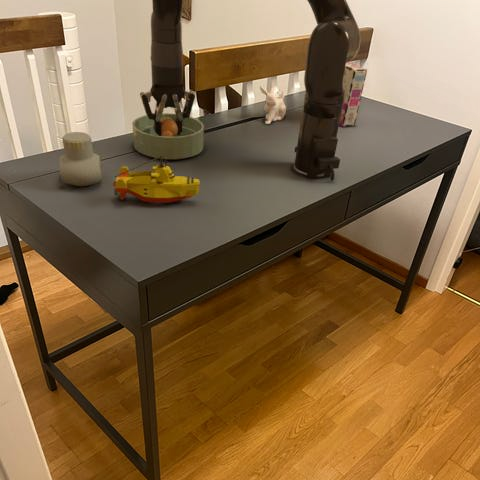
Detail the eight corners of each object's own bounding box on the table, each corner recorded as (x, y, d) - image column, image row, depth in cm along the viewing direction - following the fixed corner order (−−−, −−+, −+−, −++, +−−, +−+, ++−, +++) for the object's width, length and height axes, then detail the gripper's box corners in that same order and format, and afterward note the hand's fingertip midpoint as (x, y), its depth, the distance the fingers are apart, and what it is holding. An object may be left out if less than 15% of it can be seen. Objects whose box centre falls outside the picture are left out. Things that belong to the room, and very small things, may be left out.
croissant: (171, 128, 128) (171, 111, 125) (182, 143, 120) (182, 126, 118) (152, 129, 127) (151, 112, 124) (162, 144, 119) (161, 127, 116)
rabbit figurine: (267, 124, 145) (271, 91, 139) (249, 118, 149) (252, 85, 142) (290, 117, 152) (295, 85, 146) (272, 111, 156) (276, 79, 150)
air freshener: (101, 191, 103) (96, 146, 97) (62, 192, 102) (53, 146, 95) (102, 170, 111) (97, 127, 105) (65, 171, 110) (57, 127, 103)
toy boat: (117, 192, 104) (112, 147, 97) (199, 195, 105) (200, 151, 99) (113, 206, 99) (107, 159, 92) (199, 209, 100) (200, 163, 94)
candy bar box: (355, 126, 150) (368, 69, 140) (342, 127, 149) (354, 70, 138) (336, 114, 158) (346, 60, 147) (323, 115, 156) (333, 60, 145)
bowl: (212, 158, 122) (213, 135, 118) (141, 164, 116) (140, 139, 112) (192, 133, 134) (192, 111, 131) (127, 137, 129) (125, 114, 125)
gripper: (140, 66, 107) (144, 141, 118) (200, 66, 112) (199, 138, 123) (134, 58, 113) (138, 131, 124) (191, 58, 117) (190, 128, 128)
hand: (168, 134), depth 123 cm, fingers closed on croissant, 4 cm apart
